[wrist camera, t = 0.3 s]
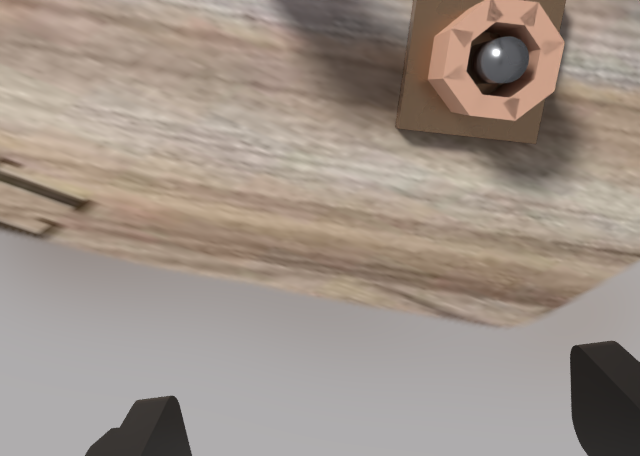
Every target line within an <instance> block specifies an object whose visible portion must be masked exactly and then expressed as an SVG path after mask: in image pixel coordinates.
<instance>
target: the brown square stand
mask: <svg viewBox="0 0 640 456" xmlns="http://www.w3.org/2000/svg"><path fill="white" fill-rule="evenodd" d="M482 1H484V0H413V5H412V12H411V19H410V26H409V33H408V40H407V47H406V54H405V61H404V69H403V76H402V83H401V90H400V97H399V104H398V111H397V118H396V125H395V127H396V128H398V129H406V130H415V131H424V132H433V133H442V134H451V135H460V136H469V137H478V138H487V139H496V140H505V141H514V142H523V143H532V144H536V141H537V136H538V131H539V127H540V122H541V117H542V112H543V107H544V103H545V99H543V100H542V101H541V102H539V103H538V104H537V105H535V106H534V107H533V108H531V109H530V110H529V111H527V112H526V113H525V114H524V115H522V116H521V117H520V118H518V119H517V120H516V121H513V120H504V119H495V118H486V117H477V116H469V115H464V114H459V113H453V112H451V111H450V110H449V108H448V107H447V106H446V104H445V103H444V101H443V100H442V99H441V97H440V96H439V95H438V93H437V92H436V90H435V89H434V88H433V86H432V85H431V84H430V82H429V81H428V74H429V68H430V61H431V55H432V48H433V42H434V36H436V35H437V34H438V33H439V32H441V31H442V30H443V29H444V28H446V27H447V26H448V25H449V24H450V23H452V22H453V21H454V20H455V19H457V18H458V17H459V16H460V15H462V14H463V13H464V12H465V11H466V10H468V9H469V8H471V7H473V6H475V5H476V4H478V3H480V2H482ZM523 1H532V2H539V3H540V5H541V7H542V8H543V10H544V11H545V13H546V14H547V16H548V17H549V19H550V20H551V22H552V23H553V25H554V26H555V28H556V29H557V31H558V33H559V31H560V26H561V22H562V17H563V12H564V7H565V3H566V0H523ZM528 63H529V53H528V49H527V47H526V45H525V44H524V43H523V42H522V41H521V40H520V39H518V38H515V37H511V36H505V37H500V35H499V34H498V33H491V32H482V33H481V34H480V35H479V36H477V37H476V38H475V39H474V40H472V41H471V47H470V53H469V59H468V65H467V71H466V72H467V73H468V75H469V76H470V77H471V79H472V80H473V82H474V83H475V84H476V86H477V87H478V89H479V90H480V92H481V93H482V94H483V95H489V94H491V93H492V92H493V91H494V90H496V89H497V88H498V87H500V86H501V85H502V84H504V83H510V82H513V81H515V80H517V79H518V78H520V77H521V76H522V75H523V74H524V72H525V71H526V69H527V66H528Z"/></svg>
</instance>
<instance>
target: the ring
mask: <svg viewBox="0 0 640 456" xmlns="http://www.w3.org/2000/svg"><path fill="white" fill-rule="evenodd" d="M482 32H491V33H498V34H499V35H500V37H505V36H511V37H515V38H518V39H520V40H521V41H522V42H523V43H524V44H525V45H526V47H527V49H528V53H529V63H528V66H527V69H526V71H525V72H524V74H523V75H522V76H521V77H520V78H518V79H517V80H515V81H513V82H510V83H504V84H502V85H501V86H500V87H498V88H497V89H496V90H494V91H493V92H492V93H491V94H489V95H483V94H482V93H481V92H480V90H479V89H478V87H477V86H476V84H475V83H474V82H473V80H472V79H471V77H470V76H469V75H468V73H467V72H466V71H467V65H468V59H469V53H470V47H471V41H472V40H474V39H475V38H476V37H477V36H479V35H480V34H481V33H482ZM564 44H565V42H564V40H563V39H562V37H561V36H560V34H559V33H558V31H557V29H556V28H555V26H554V25H553V23H552V22H551V20H550V19H549V17H548V16H547V14H546V13H545V11H544V10H543V8H542V7H541V5H540V3H539V2H532V1H523V0H484V1H482V2H480V3H478V4H476V5H475V6H473V7H471V8H469V9H468V10H466V11H465V12H464V13H463V14H462V15H460V16H459V17H458V18H457V19H455V20H454V21H453V22H452V23H450V24H449V25H448V26H447V27H446V28H444V29H443V30H442V31H441V32H439V33H438V34H437V35H436V36H434V42H433V48H432V55H431V61H430V68H429V74H428V81H429V82H430V84H431V85H432V86H433V88H434V89H435V90H436V92H437V93H438V95H439V96H440V97H441V99H442V100H443V101H444V103H445V104H446V106H447V107H448V108H449V110H450V111H451V112H453V113H459V114H464V115H469V116H477V117H486V118H495V119H504V120H513V121H516V120H517V119H518V118H520V117H521V116H522V115H524V114H525V113H526V112H527V111H529V110H530V109H531V108H533V107H534V106H535V105H537V104H538V103H539V102H541V101H542V100H543V99H545V98H546V97H547V96H549V95H550V94H551V93H553V92H554V91H555V86H556V81H557V76H558V72H559V67H560V62H561V58H562V53H563V48H564Z"/></svg>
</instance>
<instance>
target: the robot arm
mask: <svg viewBox="0 0 640 456" xmlns="http://www.w3.org/2000/svg"><path fill="white" fill-rule="evenodd" d="M570 370H571V402H572V403H571V407H572V420H573V425H574V429H575V432H576V435H577V437H578V440H579V442H580V444H581V446H582V448H583V449H584V451H585V452H586V453H587V455H588V456H640V362H639V361H637V360H636V359H635V358H634V357H633V356H632V355H631V354H630V353H629V352H627V351H626V350H625V349H624V348H623V347H622V346H621V345H620V344H618V343H617V342H615V341H607V342H598V343H590V344H582V345H575V346H573V347H572V349H571V354H570ZM85 456H192V454H191V450H190V446H189V442H188V438H187V434H186V430H185V425H184V422H183V417H182V413H181V409H180V405H179V402H178V400H177V398H176V397H175V396H166V397H158V398H150V399H142V400H137V401H136V402H135V403H134V404H133V406H132V408H131V409H130V411H129V413H128V414H127V416H126V418H125V419H124V421H123V423H122V425H121V426H120V428H112V429H110V430H109V431H108V432H107V433H106V434H105V435H104V436H102V437H101V438H100V439H99V440H98V441H97V442H95V443H94V444H93V445H92V446H91V447H90V448H89V450H88V451H87V453H86V455H85Z"/></svg>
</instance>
